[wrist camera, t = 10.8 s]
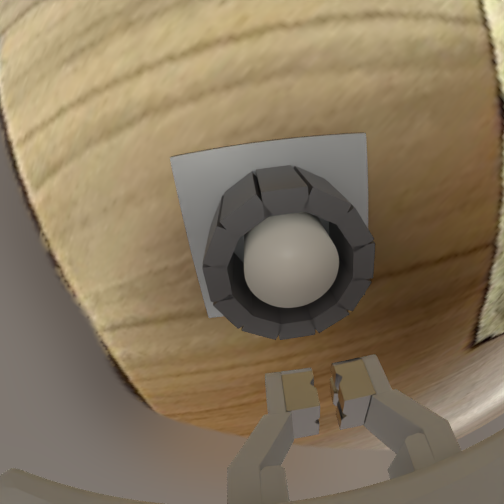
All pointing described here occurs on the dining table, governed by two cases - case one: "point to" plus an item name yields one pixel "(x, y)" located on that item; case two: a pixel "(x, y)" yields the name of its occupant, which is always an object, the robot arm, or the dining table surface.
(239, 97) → the dining table surface
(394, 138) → the dining table surface
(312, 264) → the cap
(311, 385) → the robot arm
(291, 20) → the dining table surface
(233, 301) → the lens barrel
